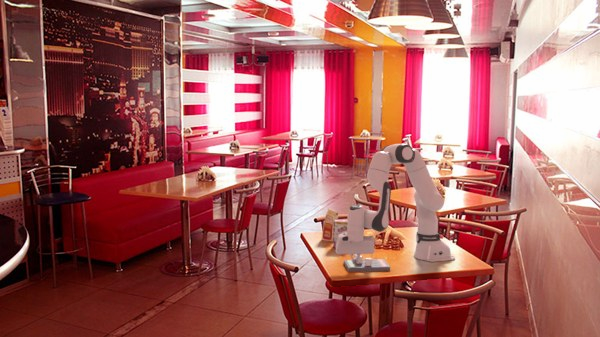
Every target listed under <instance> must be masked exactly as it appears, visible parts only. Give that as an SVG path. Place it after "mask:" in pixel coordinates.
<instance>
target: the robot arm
mask: <svg viewBox="0 0 600 337" xmlns="http://www.w3.org/2000/svg"><path fill="white" fill-rule="evenodd" d="M401 164H403V165H404V168H405V171H406V173H407V175H408V179H409V181H410V183H411V186H412V187H413V189H414V190H415V192H414V195H413V198H414V201H415V208H416V215H417V231H416V234H415V235H416V236H415V239H416V240H415V241H416V245H415V251H414V254H413V257H414V258H415V259H418V260H421V261H425V262H426V261H427V262H430V263H433V262H434V263H435V262H445V261H455V259H456V257H455V255H454V254H453V253H451V248H450V247H449V245H448V244H446V243H445V242H444V241H443V240H442V239H444V235H443V234H441V233H439V232H438V230H439V227H438V226H439V219H438V216H437V212H438V211H440V210H441V209H442V208H443V207H444V204H445V199H444V198H443V196H442V195H441V193H440V191H439V189H438V188H437V186H436V183H435V182H434V180H433V179H432V177H431V174H430V172H429V170H428V167H427V165H426V162H425V160H424V158H423V156H422V155H421V153H420V151H419V150H418V149H417V148H413V147H412V146H411V145H410V144H408V143H394V144H390V145H386V146H384V147H383V148H381V150H380V151H377V152H375V153H374V154H373V156H372V159H371V160H370V164H369V166H368V171H367V176H366V179H367V182H368V184H369V186H371V187H372V188H373V189H375V190H376V191H377V192H378V193H379V201H378V202H379V204H378V210H373V209H372V210H371V209H368V208H365V207H364V205H362V204H353V205H350V206H349V207H348V210H347V218H346V220H347V223H348V228H347V232H345V233H342V234H339V235H338V238H339V239H338V240H337V243H336V248H335V253H336V254H337V255H349V256H350V258H351V260H352V262H358V258H359V257H360V254H361V255H373V254H374V253H375V243H376V238H375V237H374V236H372V235H369V236H368V235H365V229H368V230H373V231H375V232H379V233H382V232H383V231H385V230H386V229H387V228H388V227H389V225H390V214H389V213H390V204H391V197H392V196H391V193H392V186H391V184H390V183H389V175H390V170H391V167H392V165H401ZM354 254H357V257H356V258H354Z"/></svg>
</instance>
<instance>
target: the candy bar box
mask: <svg viewBox="0 0 600 337" xmlns="http://www.w3.org/2000/svg"><path fill="white" fill-rule="evenodd" d="M347 228H348V223H347V219H346V220H345V219H339V220H334V241H333V248H334V249H336V243H337V240H338V239H339V238H338V235H339V234H342V233H345V232H347Z"/></svg>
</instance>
